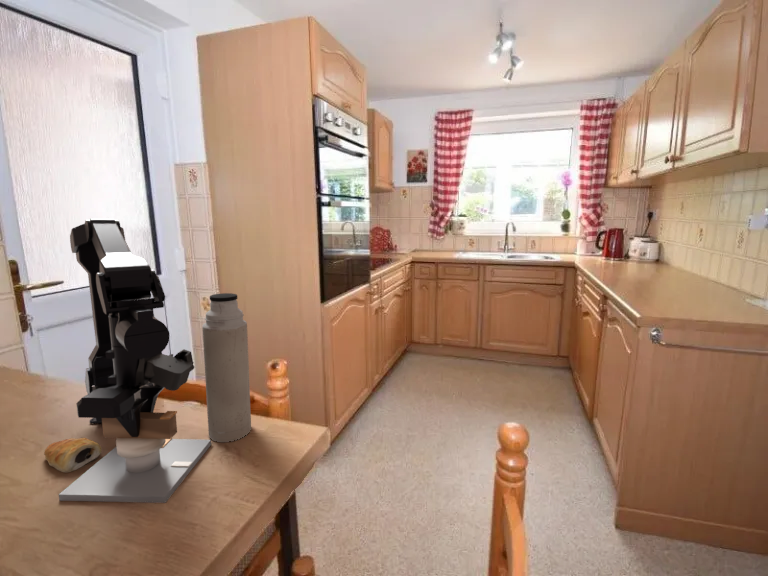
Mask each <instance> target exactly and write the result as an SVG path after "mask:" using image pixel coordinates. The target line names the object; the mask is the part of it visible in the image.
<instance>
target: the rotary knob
mask: <svg viewBox="0 0 768 576" xmlns="http://www.w3.org/2000/svg"><path fill="white" fill-rule="evenodd" d="M177 414H178V411H177V410H167V411H166V412H154V411H153V412H140V432H139V436H138V437H131V436H130V435H129V433H128V432H127V431H126V430H125V428H124V427H123V426H122V425H121V423H120V422H119V421H118V420H117V419H116V418H102V423H101V425H102V435H103V438H104V439H115V445H116V446H115V447H117V454H118V455H119V456H121V457H124V458H136V457H142V456H145V455H148V454H151V453H153V452H155V451H157V450H159V449H160V448H161V447H163V445H164V444H165V442H166V440H165V439H171V438H172V439H173V437H174V436H175V435H176V434H177V433H178V429H177V428H178V426H177V425H178V423H177Z"/></svg>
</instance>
